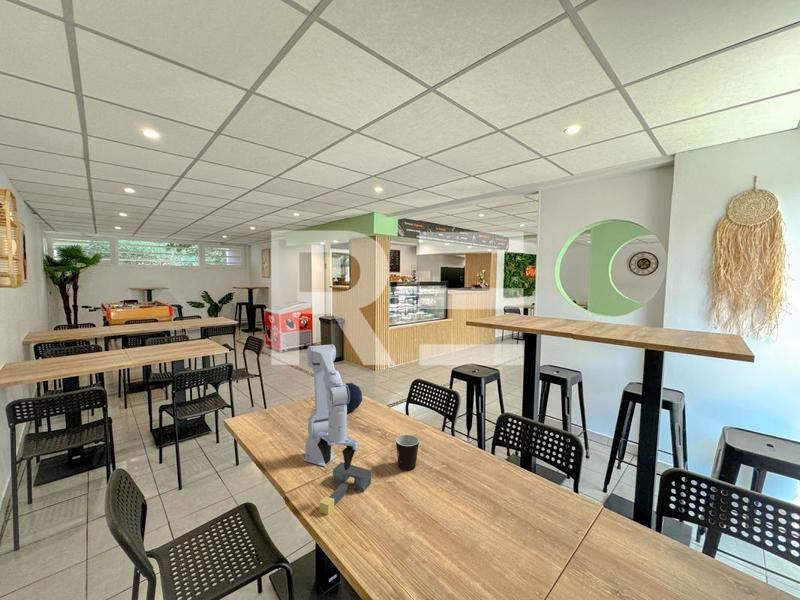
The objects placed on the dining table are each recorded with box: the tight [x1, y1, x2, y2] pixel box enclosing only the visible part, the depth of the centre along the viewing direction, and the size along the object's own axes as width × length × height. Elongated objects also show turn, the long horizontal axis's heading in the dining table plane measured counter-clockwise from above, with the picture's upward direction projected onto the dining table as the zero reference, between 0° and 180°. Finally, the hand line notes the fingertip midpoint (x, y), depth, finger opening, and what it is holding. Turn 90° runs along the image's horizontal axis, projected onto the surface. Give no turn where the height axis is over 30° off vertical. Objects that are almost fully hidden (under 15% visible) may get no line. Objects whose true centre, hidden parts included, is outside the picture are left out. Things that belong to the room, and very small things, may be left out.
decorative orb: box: [344, 382, 363, 413], centre depth 170 cm, size 14×15×15 cm
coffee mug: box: [395, 434, 420, 472], centre depth 121 cm, size 12×9×10 cm
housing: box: [332, 461, 372, 493], centre depth 110 cm, size 12×5×4 cm, turn 67°
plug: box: [318, 482, 349, 516], centre depth 101 cm, size 12×3×3 cm, turn 157°
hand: (337, 465), depth 103 cm, fingers open, 7 cm apart
